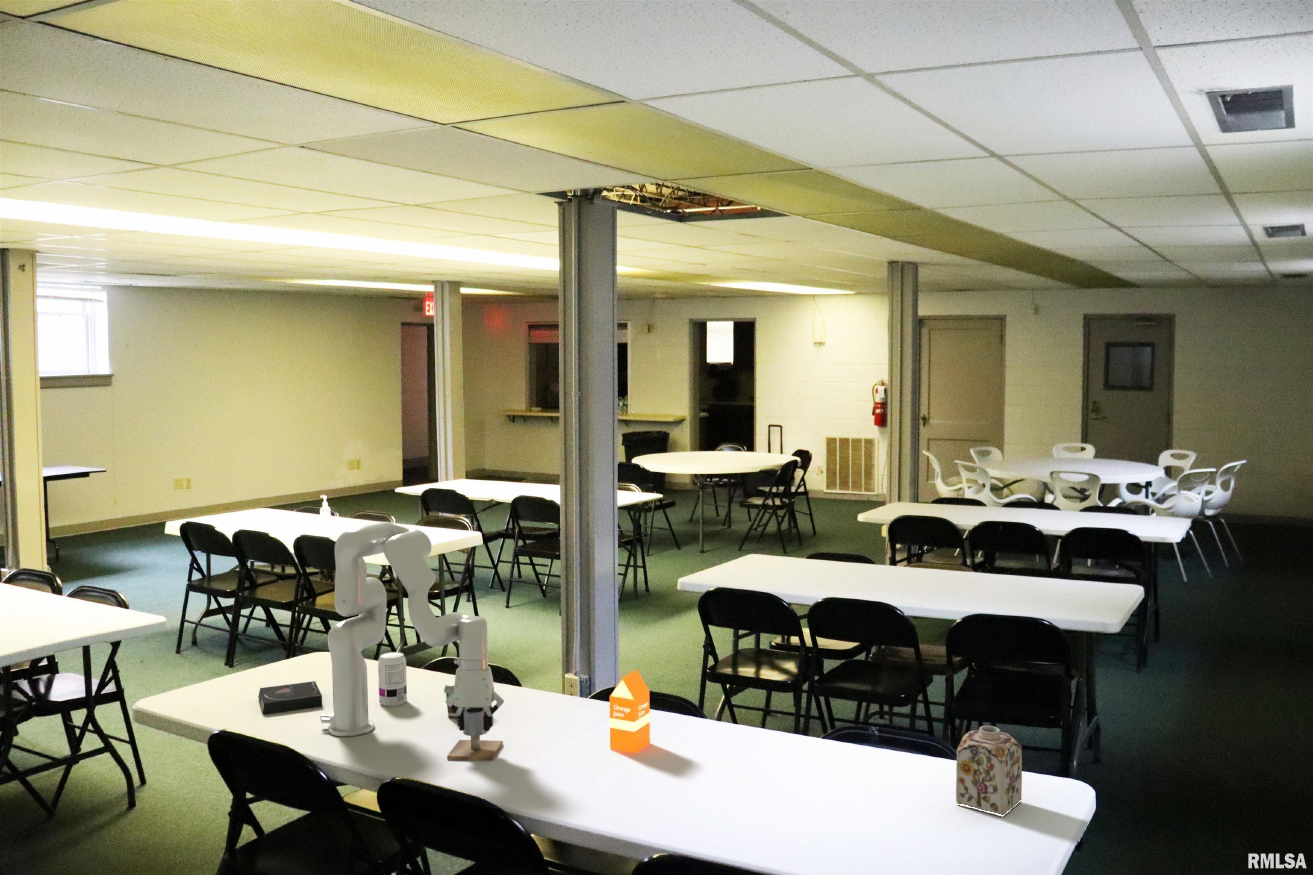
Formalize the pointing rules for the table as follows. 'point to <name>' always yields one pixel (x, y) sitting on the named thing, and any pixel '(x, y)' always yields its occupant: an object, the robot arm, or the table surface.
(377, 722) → the table surface
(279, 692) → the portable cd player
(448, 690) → the food container
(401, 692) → the supplement can
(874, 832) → the table surface
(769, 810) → the table surface
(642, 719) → the orange juice
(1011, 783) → the decorative jar
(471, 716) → the sleeve
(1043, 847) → the table surface
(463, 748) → the wooden peg base
